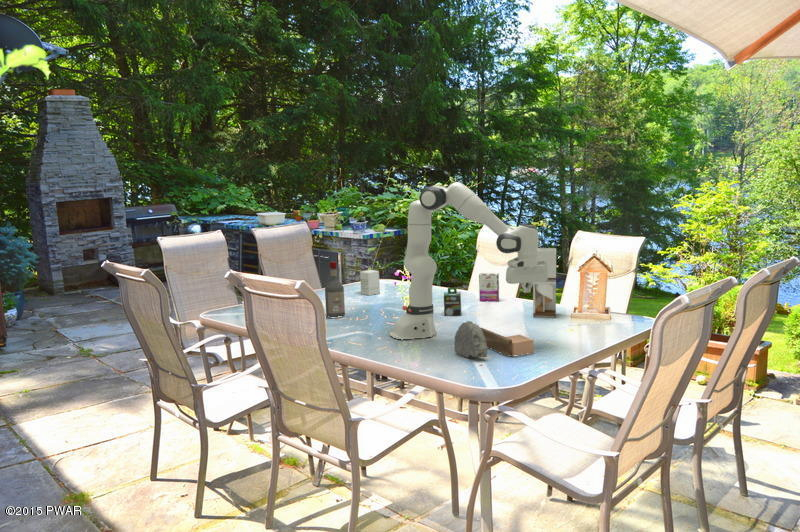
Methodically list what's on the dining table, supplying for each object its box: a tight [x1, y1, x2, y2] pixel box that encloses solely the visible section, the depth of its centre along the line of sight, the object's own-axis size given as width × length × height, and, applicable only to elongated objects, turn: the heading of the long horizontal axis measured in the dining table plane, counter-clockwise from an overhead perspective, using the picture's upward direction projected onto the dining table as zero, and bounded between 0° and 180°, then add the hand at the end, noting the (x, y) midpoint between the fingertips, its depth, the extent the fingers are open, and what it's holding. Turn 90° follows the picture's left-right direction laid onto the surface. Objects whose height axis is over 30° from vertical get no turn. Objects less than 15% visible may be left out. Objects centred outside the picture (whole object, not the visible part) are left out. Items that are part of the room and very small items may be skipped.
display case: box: [532, 247, 557, 319], centre depth 328 cm, size 11×11×35 cm
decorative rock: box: [453, 320, 488, 359], centre depth 262 cm, size 16×7×15 cm, turn 33°
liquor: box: [324, 261, 346, 318], centre depth 341 cm, size 9×9×30 cm
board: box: [480, 327, 512, 357], centre depth 272 cm, size 2×24×7 cm, turn 25°
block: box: [505, 334, 534, 357], centre depth 267 cm, size 10×10×6 cm
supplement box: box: [359, 269, 381, 296], centre depth 402 cm, size 9×9×15 cm
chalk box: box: [443, 287, 462, 317], centre depth 340 cm, size 9×9×15 cm
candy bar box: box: [478, 272, 500, 302], centre depth 370 cm, size 11×5×16 cm, turn 73°
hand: (526, 292), depth 279 cm, fingers closed
